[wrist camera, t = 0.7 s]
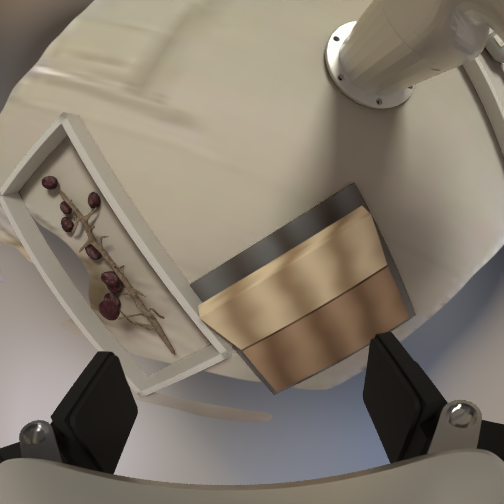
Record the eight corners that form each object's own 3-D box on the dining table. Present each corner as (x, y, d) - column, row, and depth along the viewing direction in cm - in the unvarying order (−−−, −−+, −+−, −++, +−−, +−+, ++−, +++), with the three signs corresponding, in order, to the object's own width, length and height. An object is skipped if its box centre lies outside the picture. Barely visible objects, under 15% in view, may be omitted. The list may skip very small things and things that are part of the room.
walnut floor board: (353, 182, 35) (360, 184, 33) (414, 313, 40) (421, 321, 38) (187, 286, 39) (183, 293, 37) (273, 393, 44) (274, 403, 42)
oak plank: (362, 205, 32) (371, 214, 30) (379, 255, 37) (387, 264, 36) (198, 305, 35) (199, 318, 34) (238, 338, 41) (241, 349, 39)
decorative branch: (17, 182, 29) (164, 372, 29) (71, 157, 36) (214, 319, 35) (22, 231, 37) (143, 385, 37) (66, 206, 44) (184, 344, 43)
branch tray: (79, 115, 33) (63, 112, 29) (233, 339, 42) (231, 356, 38) (12, 191, 36) (-4, 194, 32) (148, 381, 44) (141, 397, 41)
